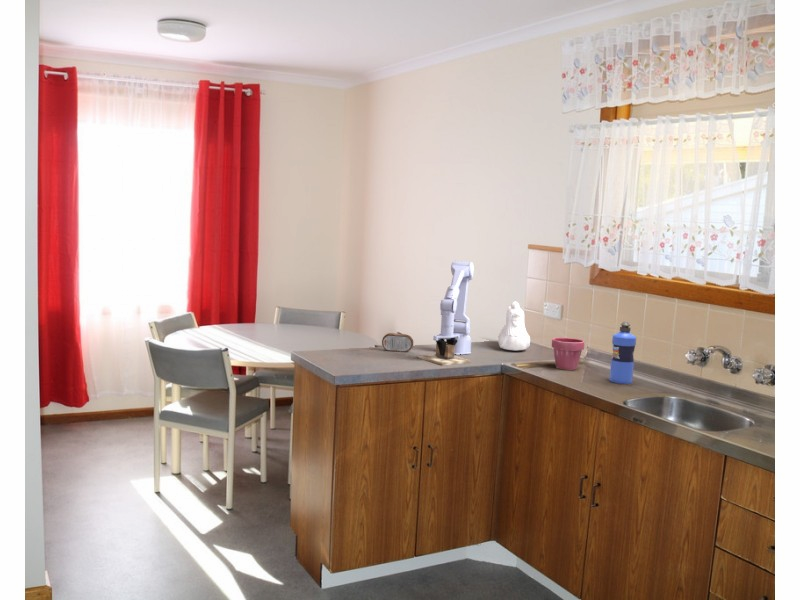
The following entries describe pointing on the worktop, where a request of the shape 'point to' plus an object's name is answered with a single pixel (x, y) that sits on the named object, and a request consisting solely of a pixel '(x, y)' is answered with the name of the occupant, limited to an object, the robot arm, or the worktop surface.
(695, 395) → the worktop surface
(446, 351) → the block
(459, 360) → the board
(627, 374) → the water bottle
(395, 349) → the tin
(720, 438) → the worktop surface
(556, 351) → the plant pot
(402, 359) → the worktop surface
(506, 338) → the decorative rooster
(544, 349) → the worktop surface
